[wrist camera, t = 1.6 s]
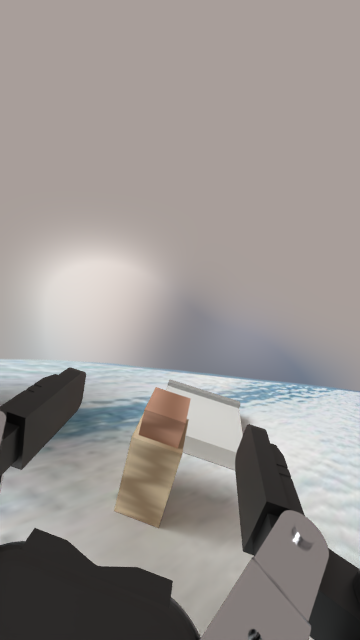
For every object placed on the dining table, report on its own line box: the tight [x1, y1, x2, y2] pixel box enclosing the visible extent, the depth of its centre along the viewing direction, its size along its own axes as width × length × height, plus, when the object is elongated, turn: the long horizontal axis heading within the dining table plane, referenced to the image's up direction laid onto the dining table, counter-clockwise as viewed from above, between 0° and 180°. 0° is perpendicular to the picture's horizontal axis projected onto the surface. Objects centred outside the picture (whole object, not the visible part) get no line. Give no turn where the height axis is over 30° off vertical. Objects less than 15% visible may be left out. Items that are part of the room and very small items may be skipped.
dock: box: [166, 380, 243, 470], centre depth 39 cm, size 14×12×4 cm
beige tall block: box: [114, 387, 191, 528], centre depth 25 cm, size 5×5×13 cm
